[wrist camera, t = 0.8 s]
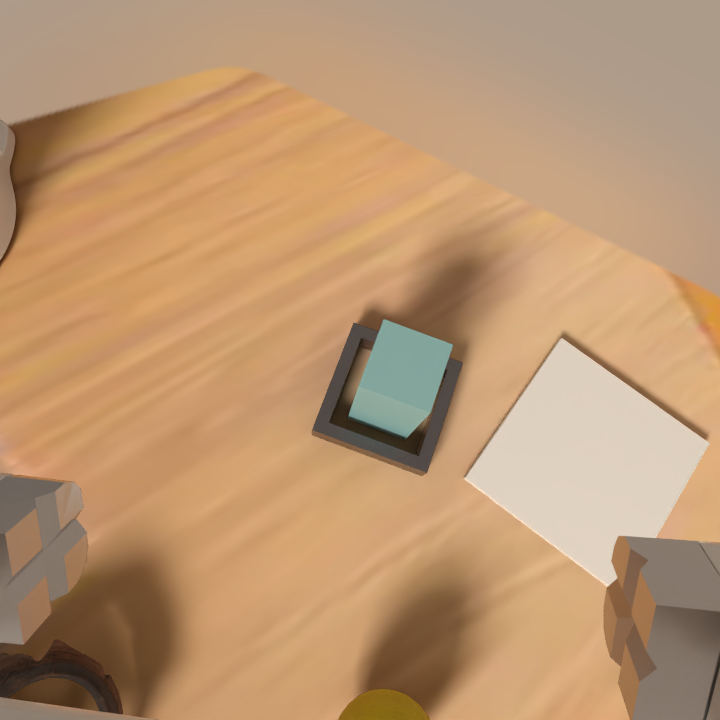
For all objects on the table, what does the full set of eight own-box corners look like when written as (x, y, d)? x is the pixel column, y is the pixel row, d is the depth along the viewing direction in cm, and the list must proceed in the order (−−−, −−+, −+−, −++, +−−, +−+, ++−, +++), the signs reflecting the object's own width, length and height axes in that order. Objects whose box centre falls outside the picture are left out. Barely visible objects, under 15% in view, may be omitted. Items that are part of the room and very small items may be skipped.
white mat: (463, 478, 42) (465, 477, 41) (558, 340, 45) (561, 337, 45) (618, 595, 41) (622, 595, 40) (704, 444, 44) (709, 443, 43)
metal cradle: (311, 434, 42) (312, 429, 40) (351, 331, 44) (353, 322, 42) (421, 475, 42) (426, 473, 40) (456, 370, 44) (462, 362, 42)
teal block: (347, 419, 42) (358, 385, 34) (367, 364, 44) (383, 318, 35) (404, 440, 42) (430, 412, 34) (423, 384, 44) (453, 344, 35)
